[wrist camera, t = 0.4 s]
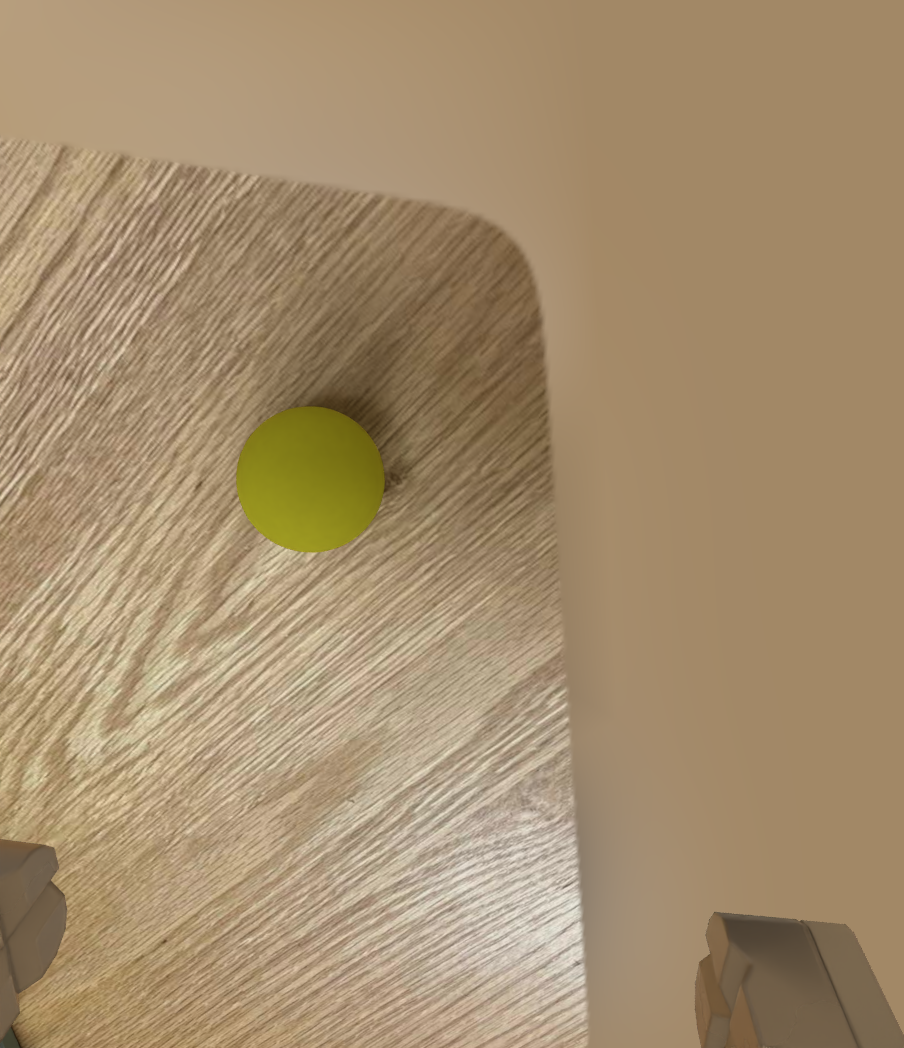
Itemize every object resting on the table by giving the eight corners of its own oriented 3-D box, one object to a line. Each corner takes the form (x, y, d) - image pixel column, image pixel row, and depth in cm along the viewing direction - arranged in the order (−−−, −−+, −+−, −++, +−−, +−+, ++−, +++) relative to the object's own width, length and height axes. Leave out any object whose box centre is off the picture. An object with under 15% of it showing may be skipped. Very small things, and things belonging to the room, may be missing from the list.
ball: (260, 388, 25) (208, 420, 21) (396, 398, 25) (371, 431, 21) (265, 516, 27) (217, 569, 23) (393, 526, 27) (368, 582, 22)
